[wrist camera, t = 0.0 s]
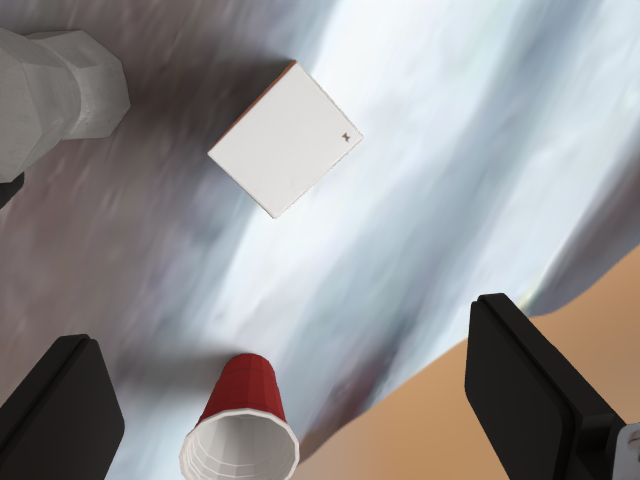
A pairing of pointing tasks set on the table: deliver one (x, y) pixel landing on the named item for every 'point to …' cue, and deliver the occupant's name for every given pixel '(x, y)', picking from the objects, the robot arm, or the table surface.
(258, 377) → the plastic cup
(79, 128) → the coffeepot
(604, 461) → the robot arm
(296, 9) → the table surface
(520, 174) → the table surface
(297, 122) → the small box
